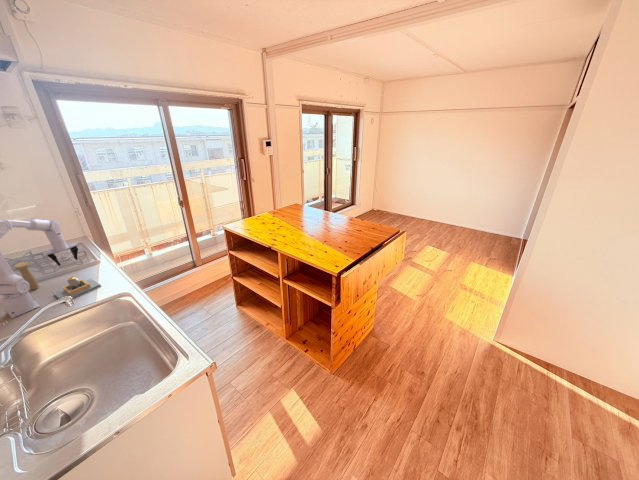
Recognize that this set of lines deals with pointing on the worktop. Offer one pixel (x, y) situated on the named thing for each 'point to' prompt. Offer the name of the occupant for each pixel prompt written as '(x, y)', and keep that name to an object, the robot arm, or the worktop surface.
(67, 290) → the fitting base
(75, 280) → the valve stub
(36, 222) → the robot arm
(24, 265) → the handle
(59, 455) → the worktop surface
